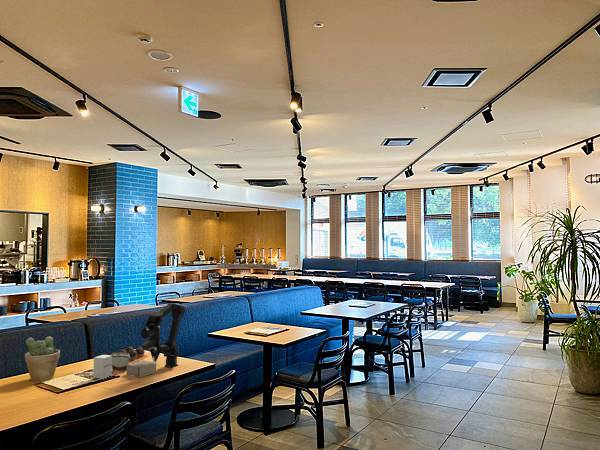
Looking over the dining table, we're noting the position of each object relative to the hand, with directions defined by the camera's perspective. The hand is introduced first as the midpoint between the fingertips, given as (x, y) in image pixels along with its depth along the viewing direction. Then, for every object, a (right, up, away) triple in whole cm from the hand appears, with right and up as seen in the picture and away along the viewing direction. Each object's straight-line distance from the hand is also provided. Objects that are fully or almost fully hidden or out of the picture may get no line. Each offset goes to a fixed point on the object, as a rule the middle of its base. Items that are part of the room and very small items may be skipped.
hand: (154, 360), depth 278 cm
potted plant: (-63, -8, -11) cm, 65 cm away
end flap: (-3, -7, -5) cm, 9 cm away
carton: (-8, -8, -1) cm, 11 cm away
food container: (-24, -8, +9) cm, 27 cm away
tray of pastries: (-29, -10, +29) cm, 42 cm away
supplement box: (-28, -8, -9) cm, 31 cm away
